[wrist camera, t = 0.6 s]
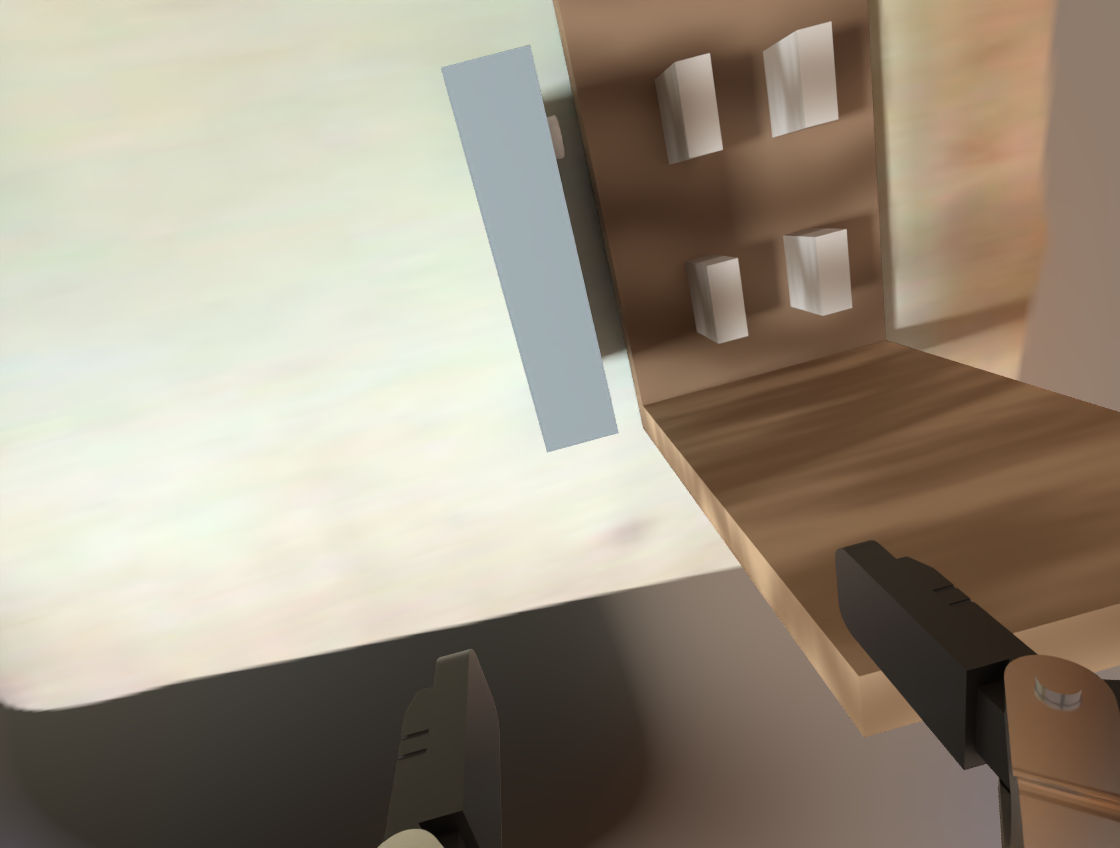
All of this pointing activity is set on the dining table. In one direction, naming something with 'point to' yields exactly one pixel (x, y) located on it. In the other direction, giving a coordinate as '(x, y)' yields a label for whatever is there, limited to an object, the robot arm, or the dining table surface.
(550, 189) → the door
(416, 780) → the robot arm
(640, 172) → the hinge base
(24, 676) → the dining table surface
